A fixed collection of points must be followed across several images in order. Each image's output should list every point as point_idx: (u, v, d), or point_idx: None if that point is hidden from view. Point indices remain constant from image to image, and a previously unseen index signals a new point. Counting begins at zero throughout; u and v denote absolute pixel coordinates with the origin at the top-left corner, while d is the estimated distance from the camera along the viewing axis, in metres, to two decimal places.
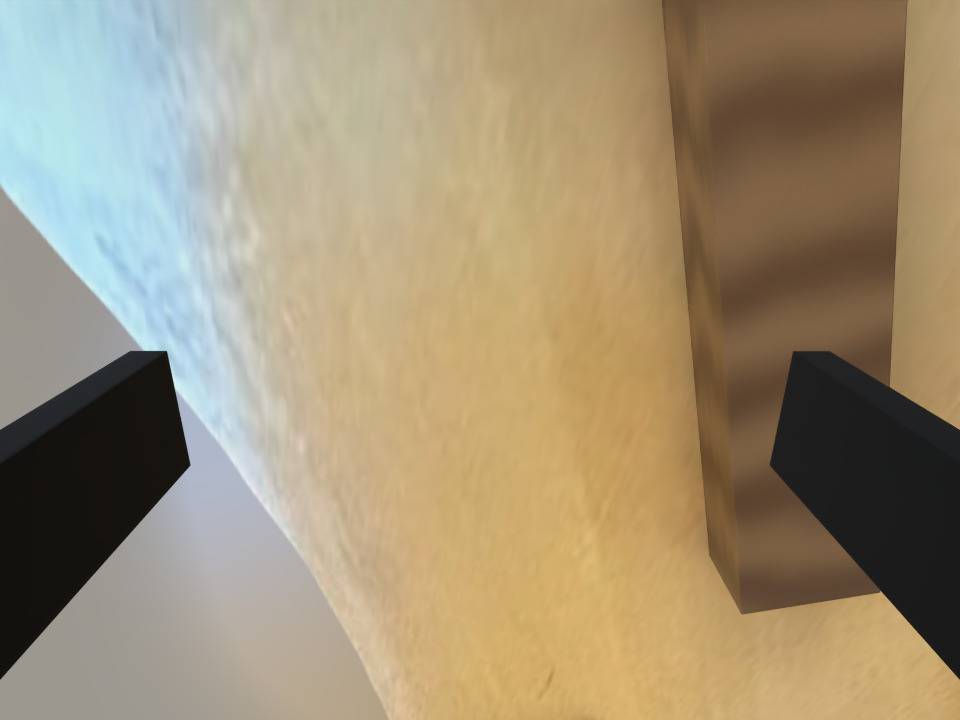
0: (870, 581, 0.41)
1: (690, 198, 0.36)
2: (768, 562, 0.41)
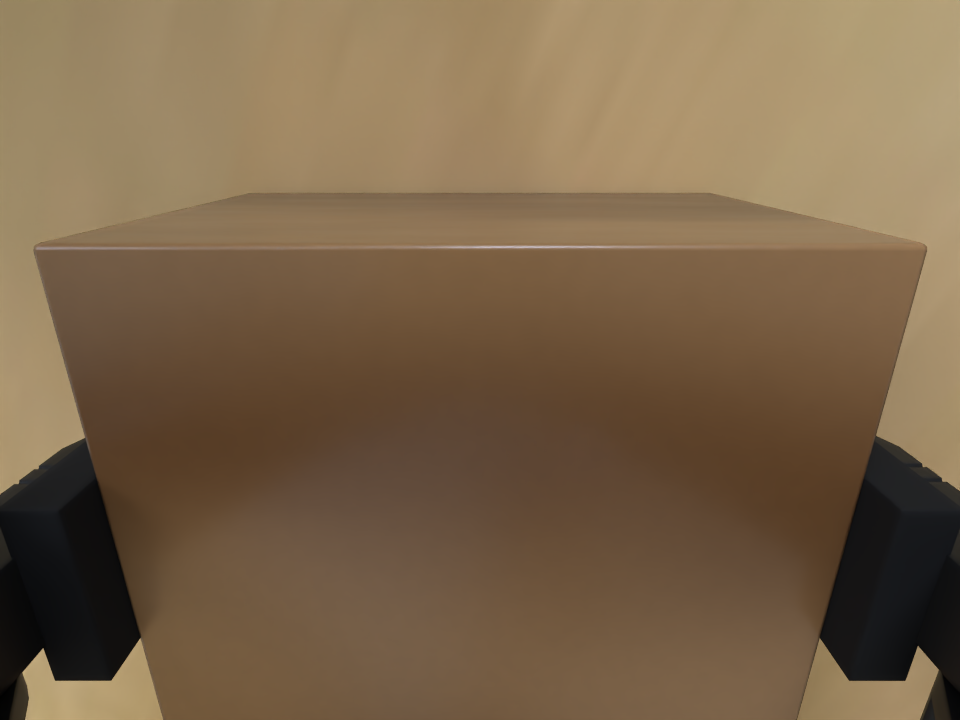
0: None
1: None
2: None
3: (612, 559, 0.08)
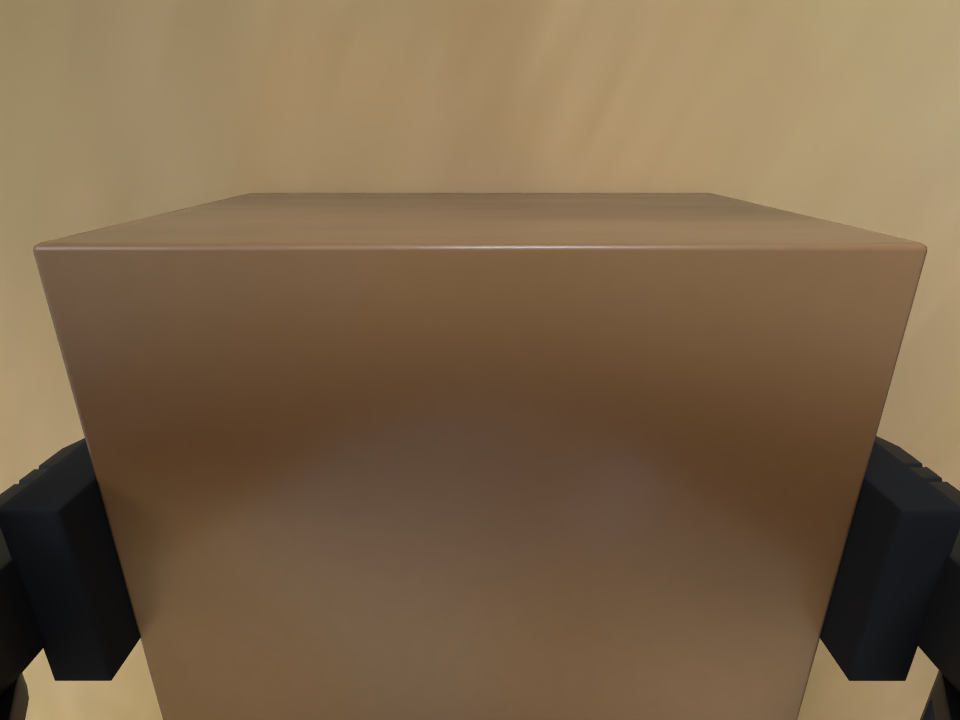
0: None
1: None
2: None
3: (612, 559, 0.08)
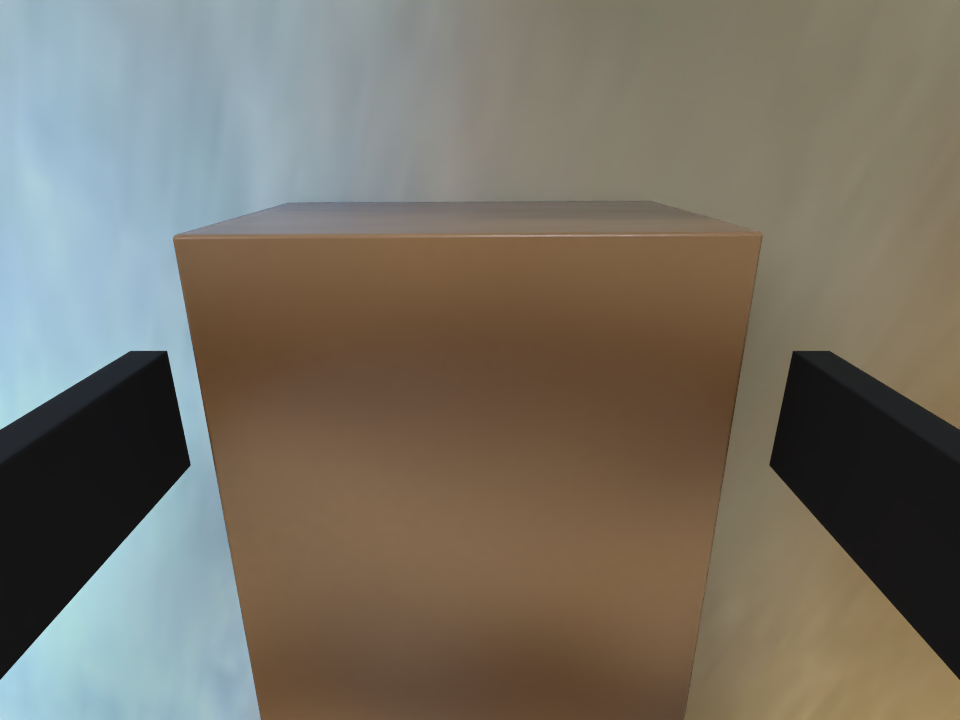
0: None
1: None
2: None
3: (565, 457, 0.11)
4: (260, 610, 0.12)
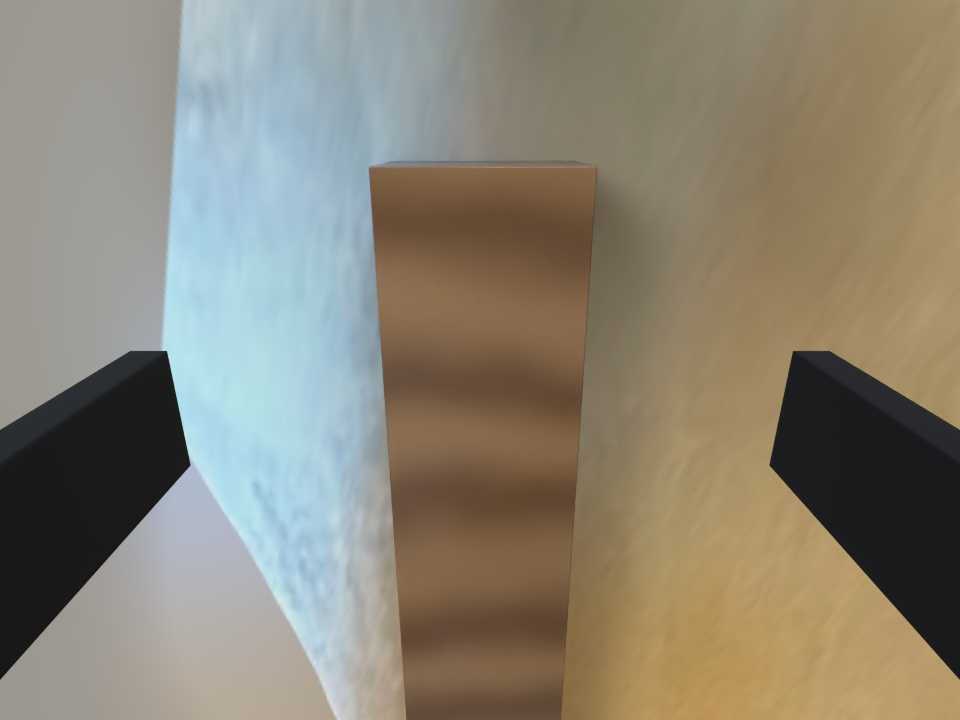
0: None
1: None
2: None
3: (522, 264, 0.26)
4: (389, 338, 0.28)
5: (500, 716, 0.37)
